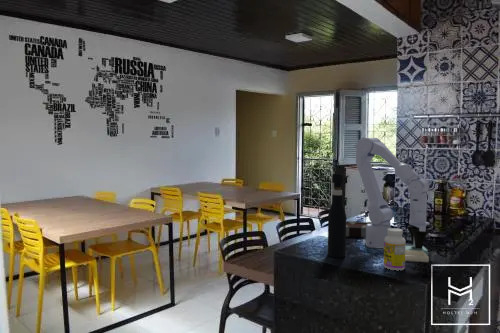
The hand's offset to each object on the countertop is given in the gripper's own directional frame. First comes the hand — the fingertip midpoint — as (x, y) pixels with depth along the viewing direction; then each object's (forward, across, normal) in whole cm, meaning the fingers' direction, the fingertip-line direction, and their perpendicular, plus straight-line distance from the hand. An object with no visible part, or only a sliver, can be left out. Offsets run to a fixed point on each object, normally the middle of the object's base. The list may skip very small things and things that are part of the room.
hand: (417, 246), depth 147 cm
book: (+3, +29, +17) cm, 34 cm away
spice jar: (+2, 0, 0) cm, 2 cm away
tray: (+2, -8, +3) cm, 9 cm away
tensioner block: (+2, 0, +1) cm, 3 cm away
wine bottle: (+3, -9, +30) cm, 31 cm away
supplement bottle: (+3, -21, +12) cm, 24 cm away
